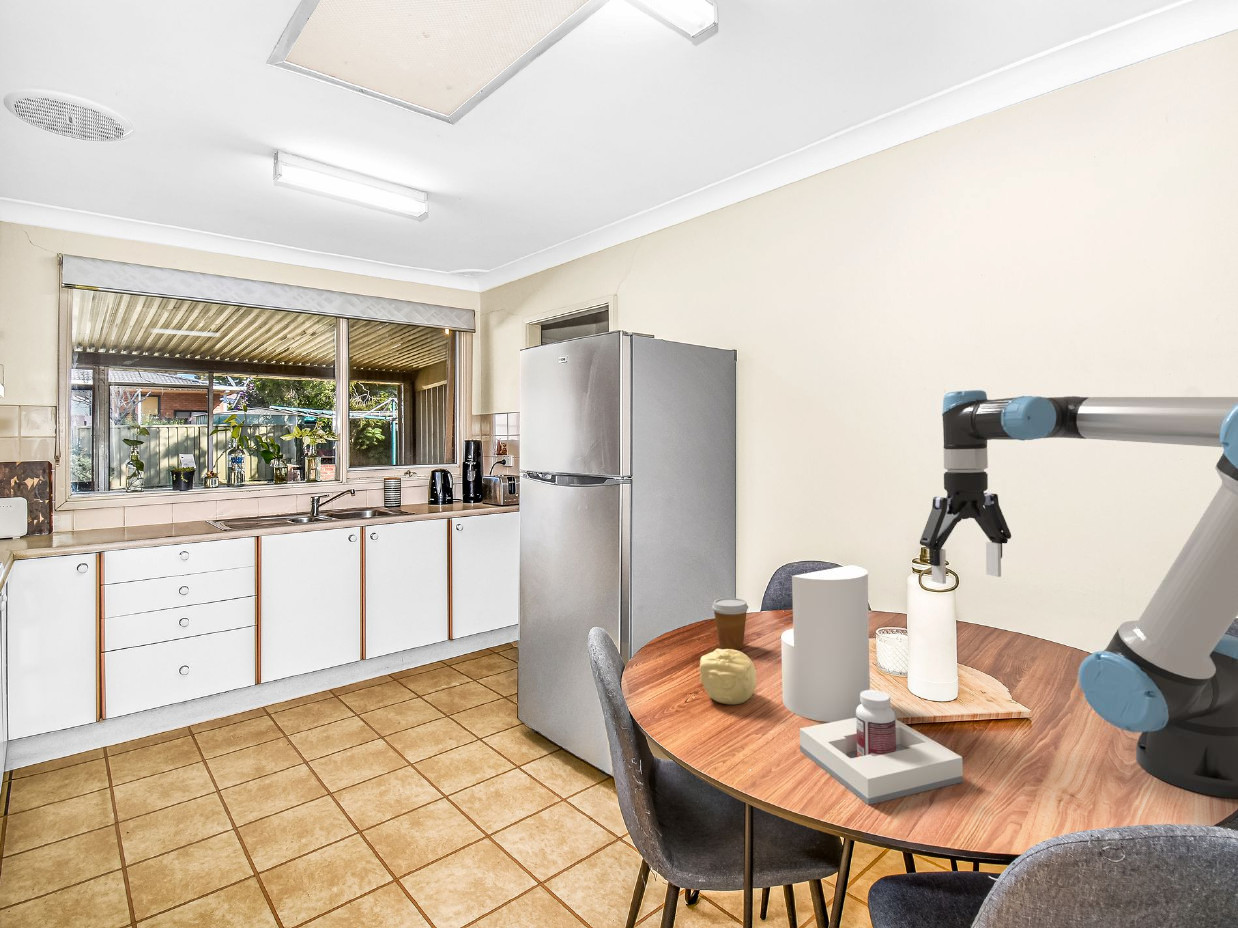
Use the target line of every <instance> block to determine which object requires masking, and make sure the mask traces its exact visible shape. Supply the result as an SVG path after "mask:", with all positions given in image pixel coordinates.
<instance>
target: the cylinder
mask: <svg viewBox="0 0 1238 928" xmlns="http://www.w3.org/2000/svg"><path fill="white" fill-rule="evenodd" d="M868 572H869V571H868V570H867V569H866V568H864V567H861V566H858V565H854V564H849V565H845V566H839V567H838V566H837V567H833V568H830V569H829V568H828V569H822V570H817V571H813V572H806V573H802V574H801V573H800V574H795V575H792V576H791V587H792V588H791V590H792V591H791V592H792V594H791V595H792V596H791V597H792V598H791V599H792V628H790V629H787V630H785V631H783V632H782V634H781V635H780V636H781V637H780V640H781V675H782V676H781V677H782V678H781V679H782V682H781V683H782V684H781V685H782V686H781V687H782V702H783V706H784V707H785V708H786V710H788V711H790V712H791V713H793V714H795V715H797V716H799V717H802V718H805V719H808V720H813V721H818V722H825V723H830V722H835V721H841V720H846V719H851V718H856V709H857V707H858V706H859V705H860V704H862V703H861V701H860V693H861V692H862V691H865V690H871V686H870V685H871V683H870V682H871V680H870V678H871V677H870V631H869V630H870V625H869V623H870V621H869V618H870V617H869V576H868V575H869V573H868Z"/></svg>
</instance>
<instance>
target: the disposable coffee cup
mask: <svg viewBox="0 0 1238 928" xmlns="http://www.w3.org/2000/svg"><path fill="white" fill-rule="evenodd" d="M748 609H749V606H748V604H747V601H746V600H745V599H741V598H737V597H736V598H735V597H733V598H732V597H724V598H723V597H722V598H718V599H715V600H714V601H713V603H712V611H713V613H714V619H715V626H716V633H717V639H718V646H719V649H733V650H737V651H739V650H741V649H743V648H744V642H745V631H746V623H747V622H746V620H747V612H748Z"/></svg>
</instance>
